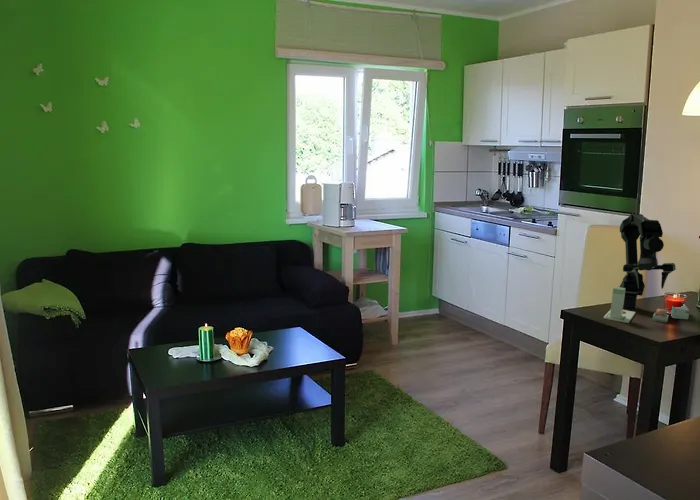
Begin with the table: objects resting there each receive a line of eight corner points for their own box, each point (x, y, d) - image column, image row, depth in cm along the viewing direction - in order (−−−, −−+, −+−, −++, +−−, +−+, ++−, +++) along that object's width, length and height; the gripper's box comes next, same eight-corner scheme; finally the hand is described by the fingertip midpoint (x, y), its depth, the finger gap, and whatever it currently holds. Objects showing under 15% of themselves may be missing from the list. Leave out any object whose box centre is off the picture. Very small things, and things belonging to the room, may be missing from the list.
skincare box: (667, 310, 268) (671, 318, 257) (668, 300, 268) (673, 308, 256) (682, 312, 267) (688, 320, 255) (684, 302, 266) (689, 310, 254)
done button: (656, 312, 255) (657, 308, 255) (666, 314, 253) (667, 309, 253) (655, 314, 252) (656, 310, 252) (665, 316, 250) (665, 311, 250)
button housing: (654, 317, 257) (654, 312, 256) (667, 320, 254) (668, 314, 254) (652, 320, 253) (653, 315, 252) (666, 323, 250) (667, 317, 249)
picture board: (611, 309, 267) (611, 307, 267) (635, 313, 262) (635, 311, 262) (603, 318, 252) (603, 316, 252) (628, 323, 247) (628, 321, 247)
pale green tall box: (611, 314, 256) (615, 286, 254) (621, 316, 254) (625, 288, 252) (609, 316, 253) (613, 288, 251) (620, 318, 251) (623, 290, 248)
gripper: (618, 252, 251) (620, 291, 252) (669, 251, 239) (671, 291, 240) (625, 250, 260) (627, 287, 260) (674, 249, 248) (676, 287, 249)
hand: (649, 288), depth 252 cm, fingers open, 9 cm apart
